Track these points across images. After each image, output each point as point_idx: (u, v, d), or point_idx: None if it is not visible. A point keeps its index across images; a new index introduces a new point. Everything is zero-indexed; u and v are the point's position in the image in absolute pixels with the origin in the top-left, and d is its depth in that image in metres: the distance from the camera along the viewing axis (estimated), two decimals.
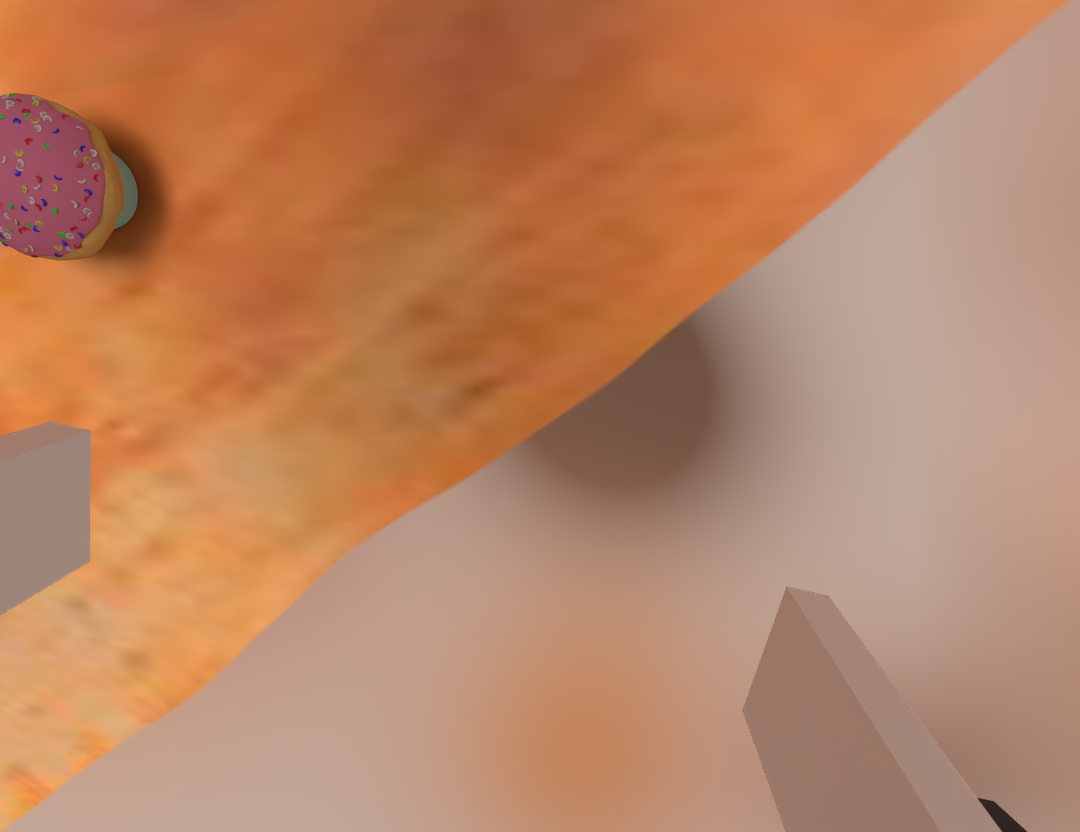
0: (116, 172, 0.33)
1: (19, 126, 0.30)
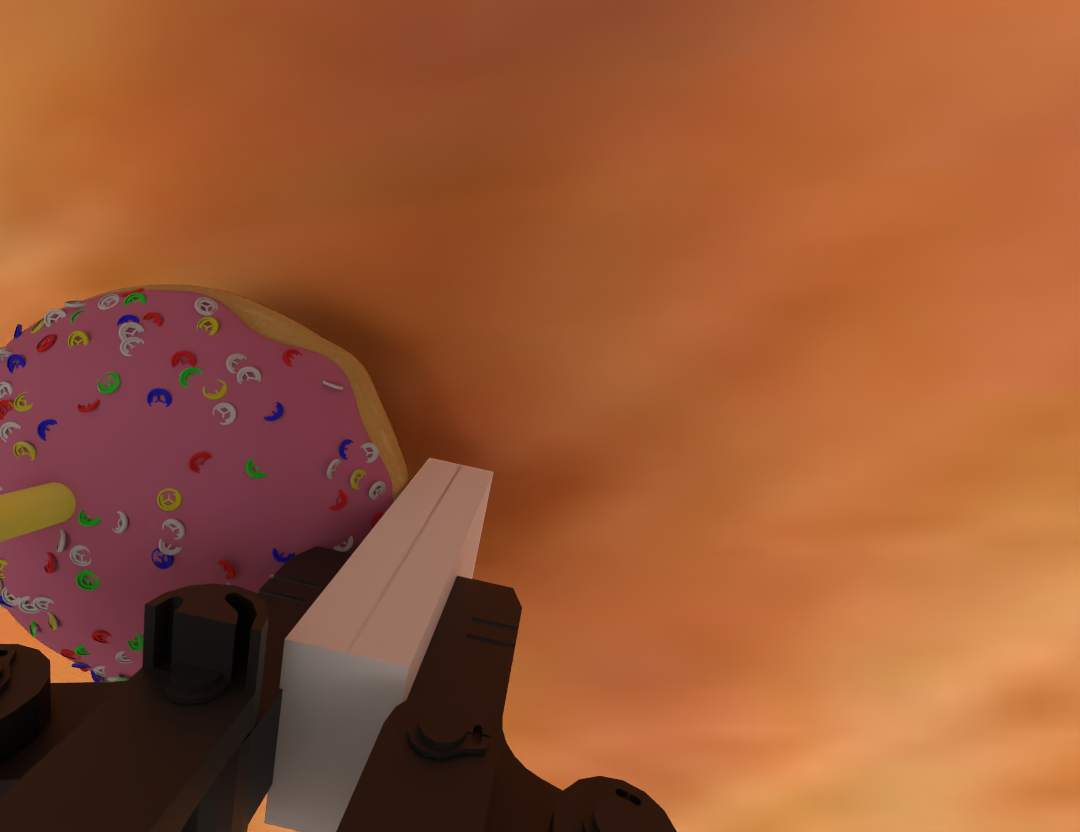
0: (407, 476, 0.12)
1: (167, 414, 0.09)
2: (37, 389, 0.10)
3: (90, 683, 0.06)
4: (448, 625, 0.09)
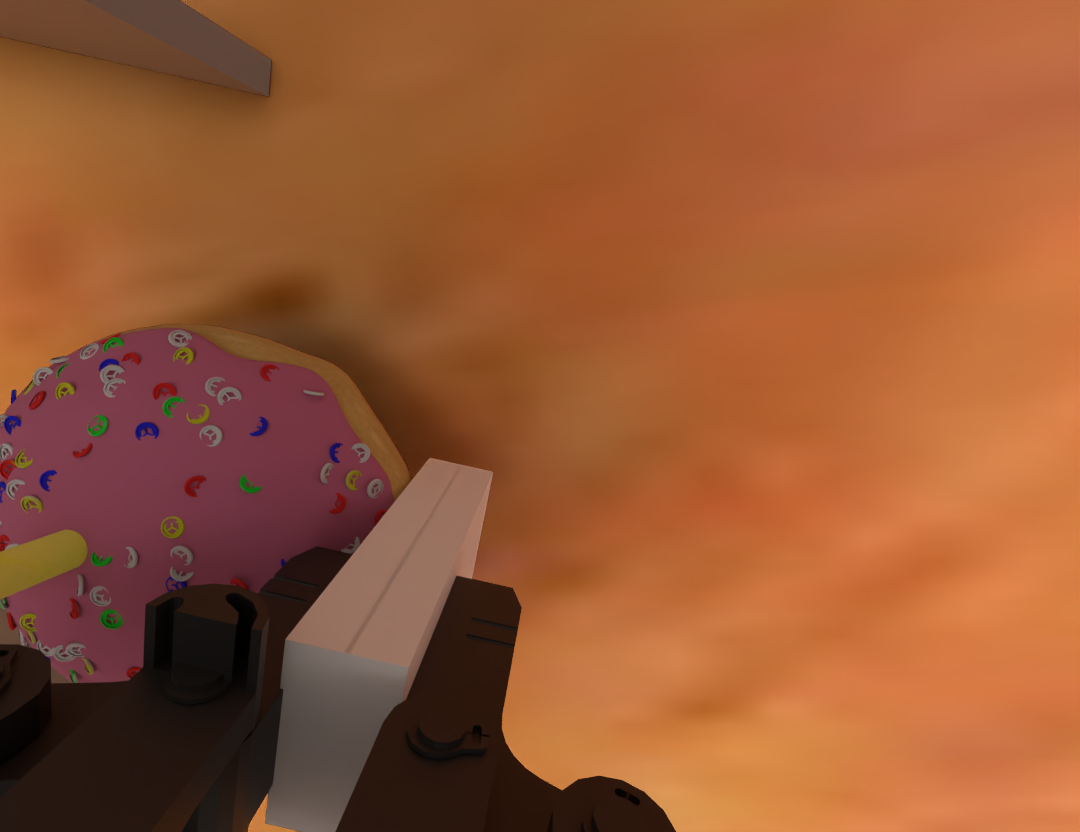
0: (406, 473, 0.12)
1: (156, 445, 0.10)
2: (35, 444, 0.10)
3: (90, 684, 0.06)
4: (447, 625, 0.09)
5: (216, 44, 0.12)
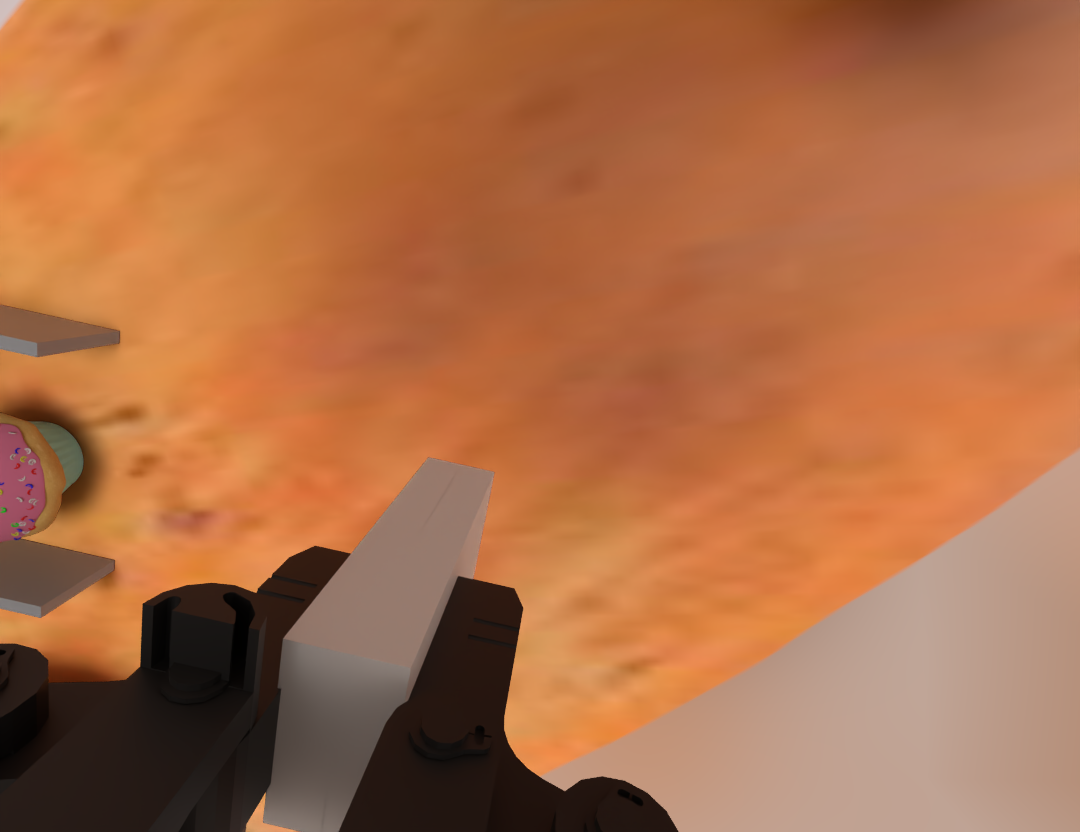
0: (52, 457, 0.36)
1: None
2: None
3: (88, 683, 0.06)
4: (450, 625, 0.09)
5: (93, 340, 0.36)
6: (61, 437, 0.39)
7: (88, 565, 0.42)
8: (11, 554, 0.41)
